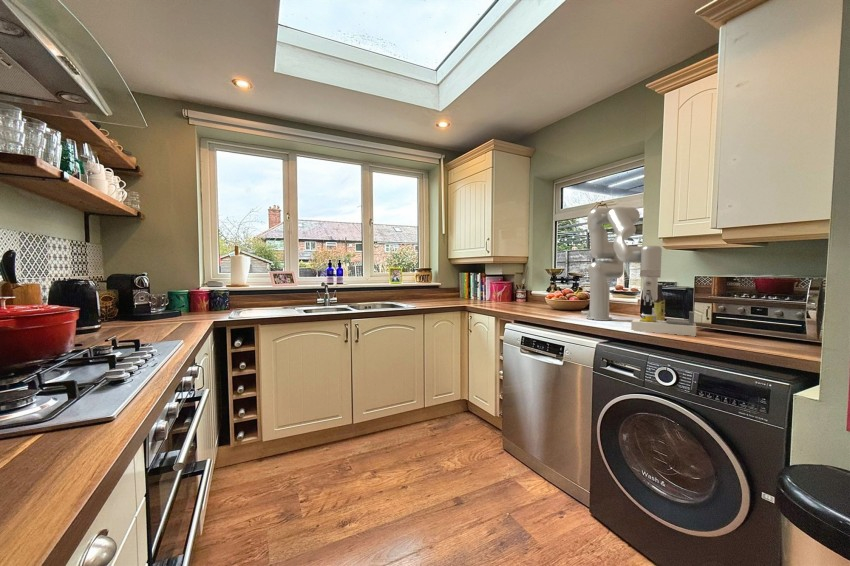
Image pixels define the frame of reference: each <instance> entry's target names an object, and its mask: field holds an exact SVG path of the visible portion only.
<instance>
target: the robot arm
mask: <svg viewBox="0 0 850 566" xmlns="http://www.w3.org/2000/svg"><path fill="white" fill-rule="evenodd" d="M640 218H641V214H640V211H639V210H638V208H635V207H630V206H617V207H597V208H593V209H592V210H590V211H589V212H588V215H587V218H586V224H587V229H588V233H589V239H590V241H589V242H590V243H589V245H590V254H591V257H592V259H599V260H598V261H597V260H596V261H593V262H591V263H590V264H589V266H588V267H587V268H588V271H587V272H588V276H589V309H588V310H581V313H580V314H581V315H585V317H586V319H587V318H588V320H592V319H594V320H593V321H612V320H613V317H610V291H611V289H610V284H609V281H607V280H613V279H614V280H617V279H620V278H622V277H623V275H624V270H625V267H624V266H625V265H624V263H625V264H639V265H640V267H639V268H640V269H639V278H642V300H644V301H643V306H642V307H643V309H642V313H643V314H646V315H652V308H654V301H656V300H657V299H658V284H659V281H658V280H659V279H661V274H662V271H661V270H662V255H663V254H662V252H663V251H662V247H661V246H659V245H645V246H639V245H638V246H635V245H634V246H632V245H628V244H627V243H626V241H625V240H627V239H629V238H631V237H632V236H634V234H635V233H636V231H637V228H636V224H637V223H638V222H639V221H640ZM604 225H611V228H612V229H613V231H614V233H615V235H616V236H615V237H614V240H613V241H609V240H608V239H609V238H608V232H607V230H606V228H605V227H604ZM652 303H653V304H652ZM586 315H587V316H586Z"/></svg>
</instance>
